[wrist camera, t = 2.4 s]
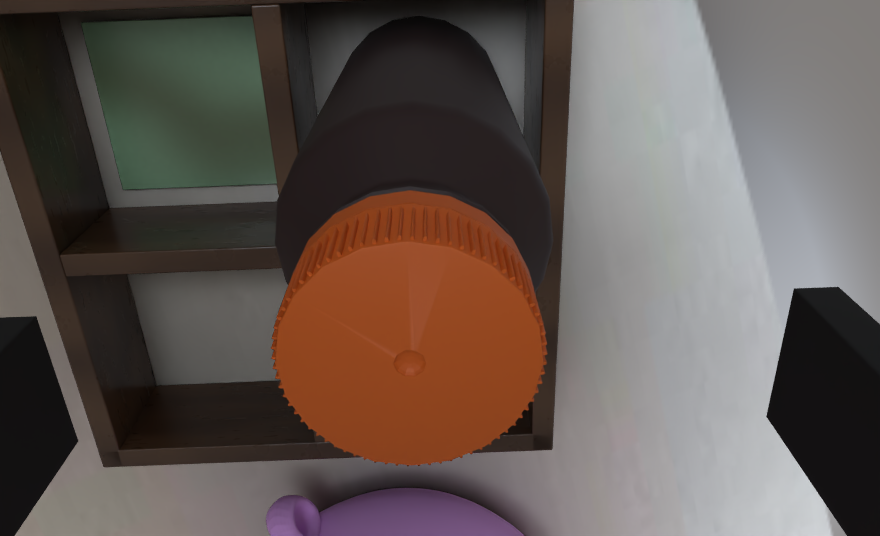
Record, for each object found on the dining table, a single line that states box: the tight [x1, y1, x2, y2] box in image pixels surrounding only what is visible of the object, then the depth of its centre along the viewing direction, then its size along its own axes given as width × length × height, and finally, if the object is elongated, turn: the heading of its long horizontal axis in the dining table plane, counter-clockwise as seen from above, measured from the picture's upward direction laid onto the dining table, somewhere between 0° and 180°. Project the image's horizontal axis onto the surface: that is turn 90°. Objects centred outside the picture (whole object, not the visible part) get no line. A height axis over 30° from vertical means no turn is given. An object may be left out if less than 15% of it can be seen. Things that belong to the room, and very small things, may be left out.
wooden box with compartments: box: [0, 0, 574, 467], centre depth 30 cm, size 21×21×5 cm
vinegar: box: [271, 16, 553, 466], centre depth 21 cm, size 7×7×20 cm
